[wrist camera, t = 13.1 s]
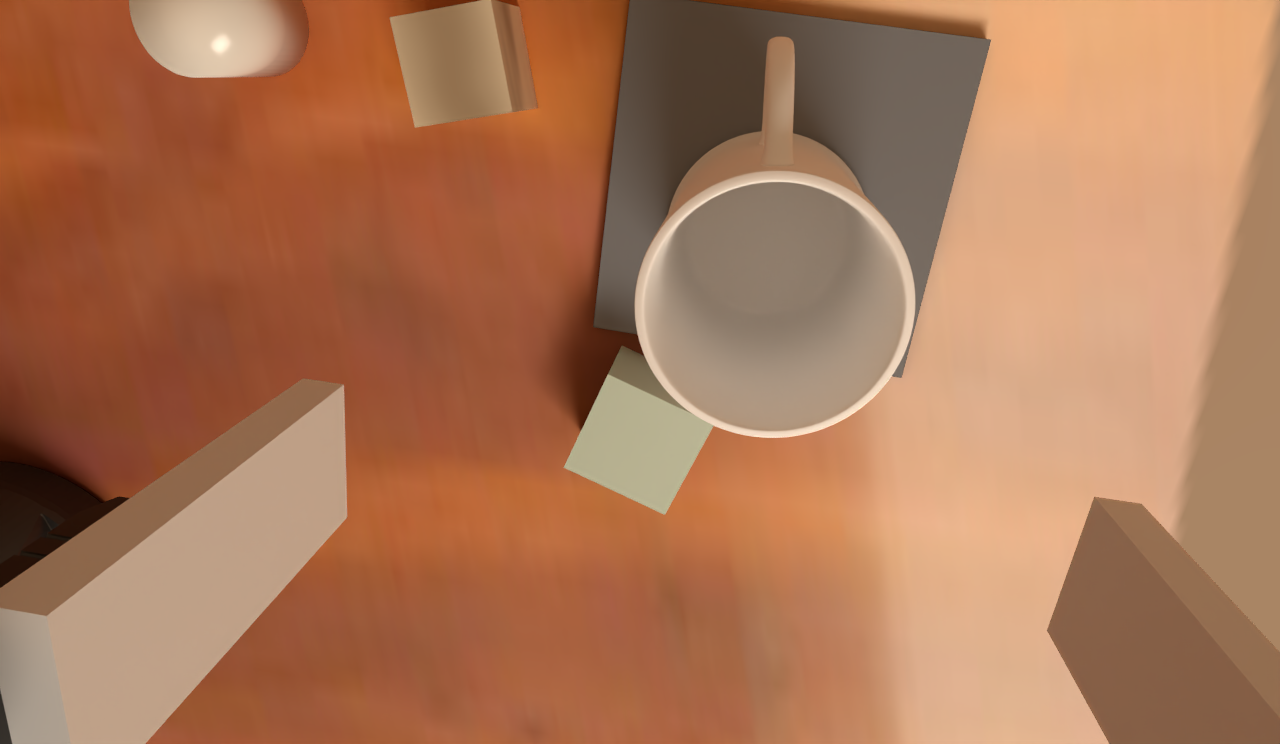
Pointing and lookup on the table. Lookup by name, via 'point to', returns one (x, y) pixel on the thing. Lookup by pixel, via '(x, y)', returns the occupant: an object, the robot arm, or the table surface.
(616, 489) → the sage block
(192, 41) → the beige rounded block
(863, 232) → the mug
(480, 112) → the maple block
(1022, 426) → the table surface
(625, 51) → the coaster
